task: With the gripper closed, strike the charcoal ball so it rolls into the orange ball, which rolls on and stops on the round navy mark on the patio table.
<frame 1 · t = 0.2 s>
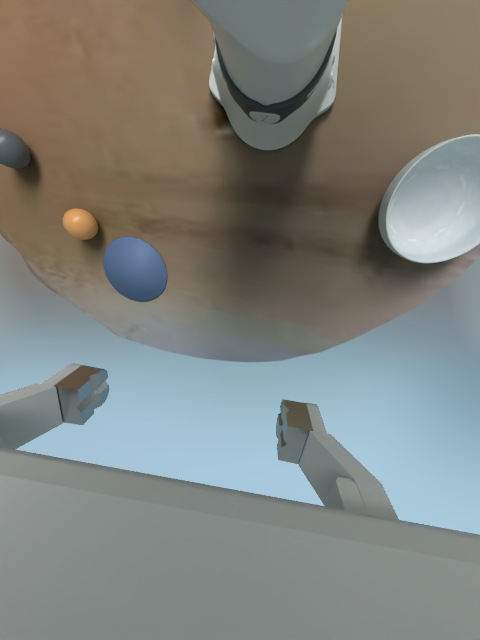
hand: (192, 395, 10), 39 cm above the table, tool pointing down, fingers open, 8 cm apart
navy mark: (135, 270, 49), on the table
charcoal ball: (8, 149, 39), on the table
cereal bowl: (419, 205, 39), on the table
orange ball: (81, 224, 43), on the table
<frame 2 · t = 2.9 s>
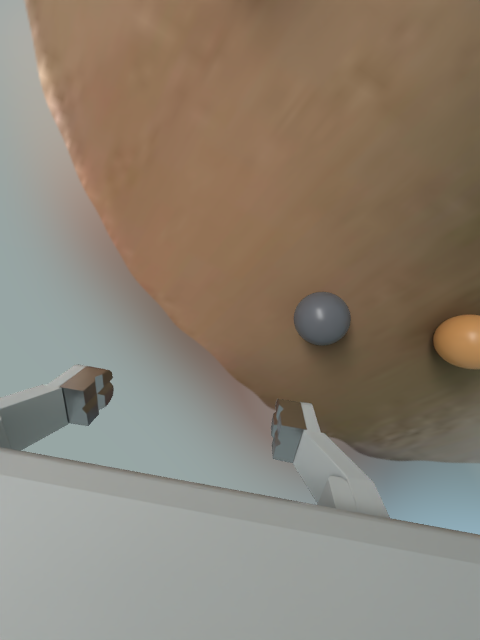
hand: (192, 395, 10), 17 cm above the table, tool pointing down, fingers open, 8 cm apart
charcoal ball: (321, 318, 24), on the table
orange ball: (468, 341, 23), on the table
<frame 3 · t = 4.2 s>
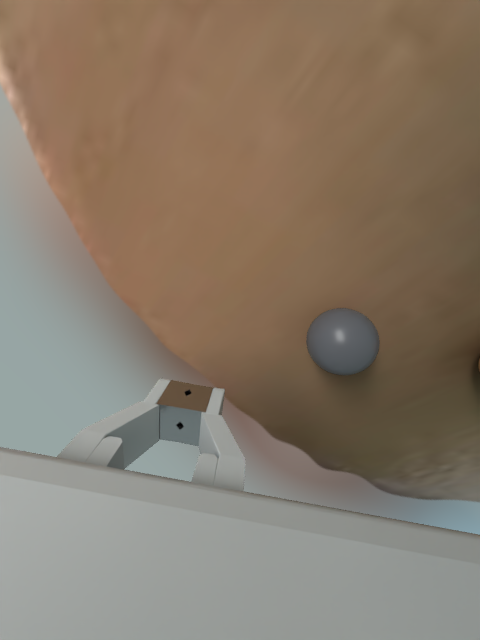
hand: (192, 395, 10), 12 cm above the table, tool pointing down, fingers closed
charcoal ball: (340, 341, 19), on the table
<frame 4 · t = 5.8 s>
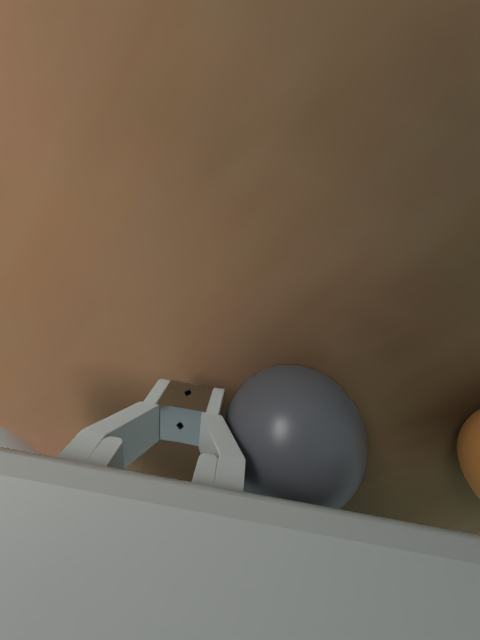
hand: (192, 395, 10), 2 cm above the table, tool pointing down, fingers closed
charcoal ball: (291, 432, 9), on the table
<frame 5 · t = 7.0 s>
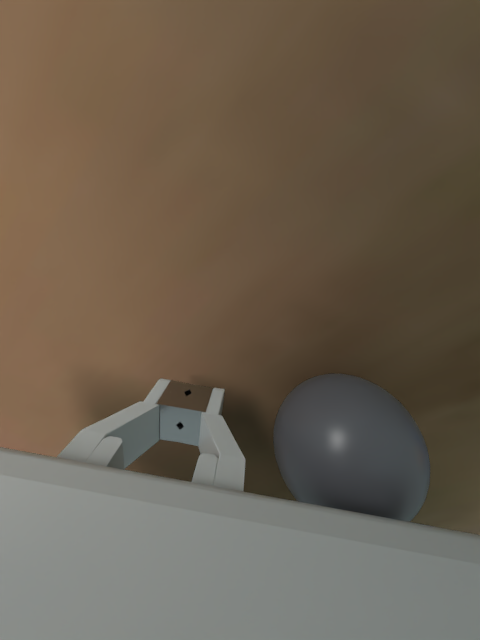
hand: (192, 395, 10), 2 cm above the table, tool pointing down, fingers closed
charcoal ball: (341, 443, 9), on the table
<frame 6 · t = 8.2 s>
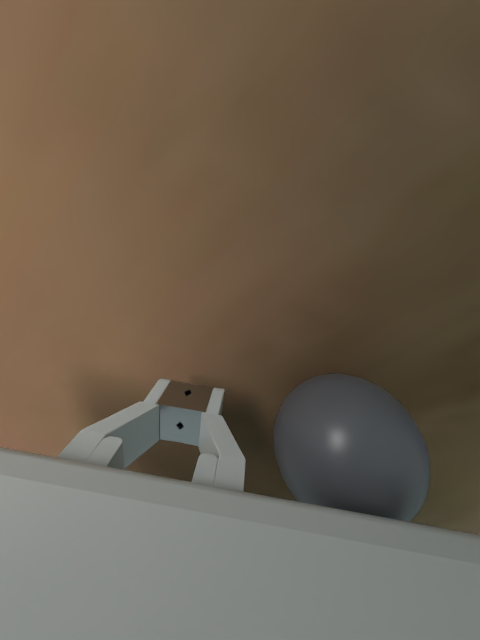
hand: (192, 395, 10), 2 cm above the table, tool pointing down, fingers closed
charcoal ball: (341, 443, 9), on the table
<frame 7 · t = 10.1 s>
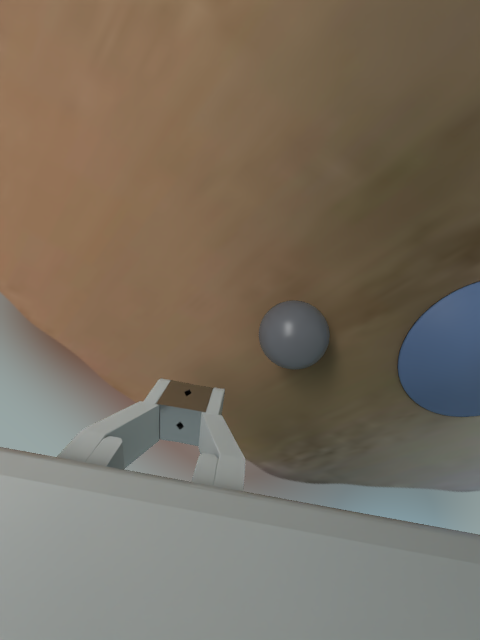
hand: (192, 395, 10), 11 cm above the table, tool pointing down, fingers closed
charcoal ball: (293, 334, 18), on the table
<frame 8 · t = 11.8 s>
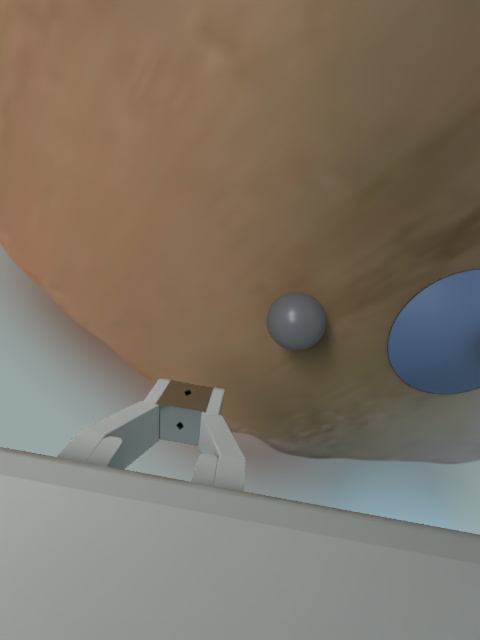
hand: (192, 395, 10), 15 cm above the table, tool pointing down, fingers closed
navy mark: (459, 337, 24), on the table
charcoal ball: (295, 321, 22), on the table
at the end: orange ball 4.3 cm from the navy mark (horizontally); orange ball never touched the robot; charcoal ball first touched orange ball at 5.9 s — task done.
